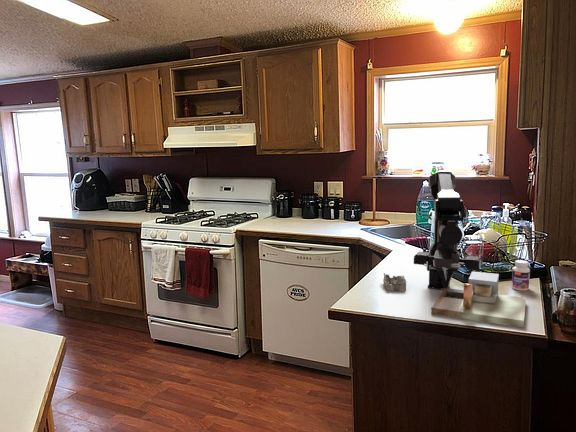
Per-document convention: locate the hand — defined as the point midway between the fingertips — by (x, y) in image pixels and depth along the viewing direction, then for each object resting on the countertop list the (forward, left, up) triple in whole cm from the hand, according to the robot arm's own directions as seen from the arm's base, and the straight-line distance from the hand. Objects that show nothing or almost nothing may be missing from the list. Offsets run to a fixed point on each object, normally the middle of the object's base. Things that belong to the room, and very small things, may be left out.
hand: (446, 287), depth 141 cm
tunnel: (+9, +11, -6) cm, 16 cm away
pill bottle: (+20, +33, -8) cm, 39 cm away
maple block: (+10, +11, -6) cm, 16 cm away
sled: (+9, +6, -5) cm, 12 cm away
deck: (+9, +7, -8) cm, 14 cm away
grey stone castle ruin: (-21, +18, -8) cm, 29 cm away
